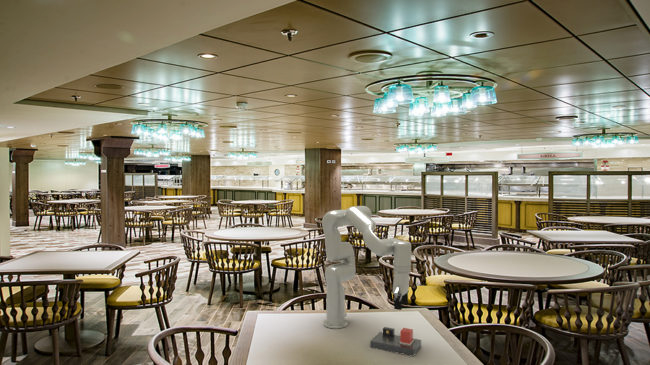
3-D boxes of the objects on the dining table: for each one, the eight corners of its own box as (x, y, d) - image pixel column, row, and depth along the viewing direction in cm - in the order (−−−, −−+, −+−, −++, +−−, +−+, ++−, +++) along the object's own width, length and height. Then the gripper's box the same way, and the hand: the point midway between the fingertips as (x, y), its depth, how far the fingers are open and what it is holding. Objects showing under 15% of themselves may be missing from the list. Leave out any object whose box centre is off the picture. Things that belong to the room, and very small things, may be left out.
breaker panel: (379, 338, 203) (379, 325, 203) (421, 346, 194) (421, 333, 194) (370, 347, 193) (370, 334, 193) (413, 356, 183) (413, 342, 183)
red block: (403, 338, 194) (403, 327, 194) (412, 340, 192) (412, 329, 192) (400, 341, 190) (400, 330, 190) (409, 343, 188) (409, 332, 188)
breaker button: (402, 344, 194) (402, 338, 194) (413, 346, 192) (413, 340, 192) (399, 348, 190) (399, 342, 190) (410, 350, 188) (410, 344, 188)
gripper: (399, 263, 200) (398, 299, 201) (387, 271, 185) (386, 310, 185) (415, 265, 197) (414, 302, 197) (404, 273, 181) (403, 313, 182)
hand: (401, 306), depth 191 cm, fingers open, 9 cm apart
